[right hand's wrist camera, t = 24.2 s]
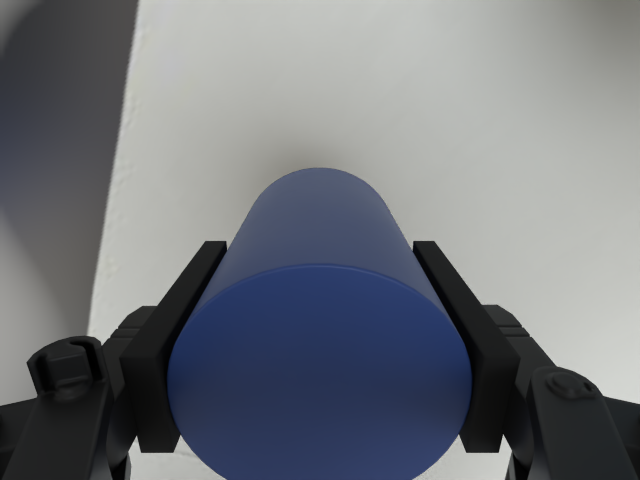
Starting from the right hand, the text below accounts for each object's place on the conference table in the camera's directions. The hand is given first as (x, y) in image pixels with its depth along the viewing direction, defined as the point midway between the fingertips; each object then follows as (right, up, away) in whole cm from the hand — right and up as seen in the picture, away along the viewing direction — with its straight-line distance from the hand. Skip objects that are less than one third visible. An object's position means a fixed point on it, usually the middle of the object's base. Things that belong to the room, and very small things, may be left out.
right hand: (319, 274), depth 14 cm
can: (0, +1, +3) cm, 3 cm away
